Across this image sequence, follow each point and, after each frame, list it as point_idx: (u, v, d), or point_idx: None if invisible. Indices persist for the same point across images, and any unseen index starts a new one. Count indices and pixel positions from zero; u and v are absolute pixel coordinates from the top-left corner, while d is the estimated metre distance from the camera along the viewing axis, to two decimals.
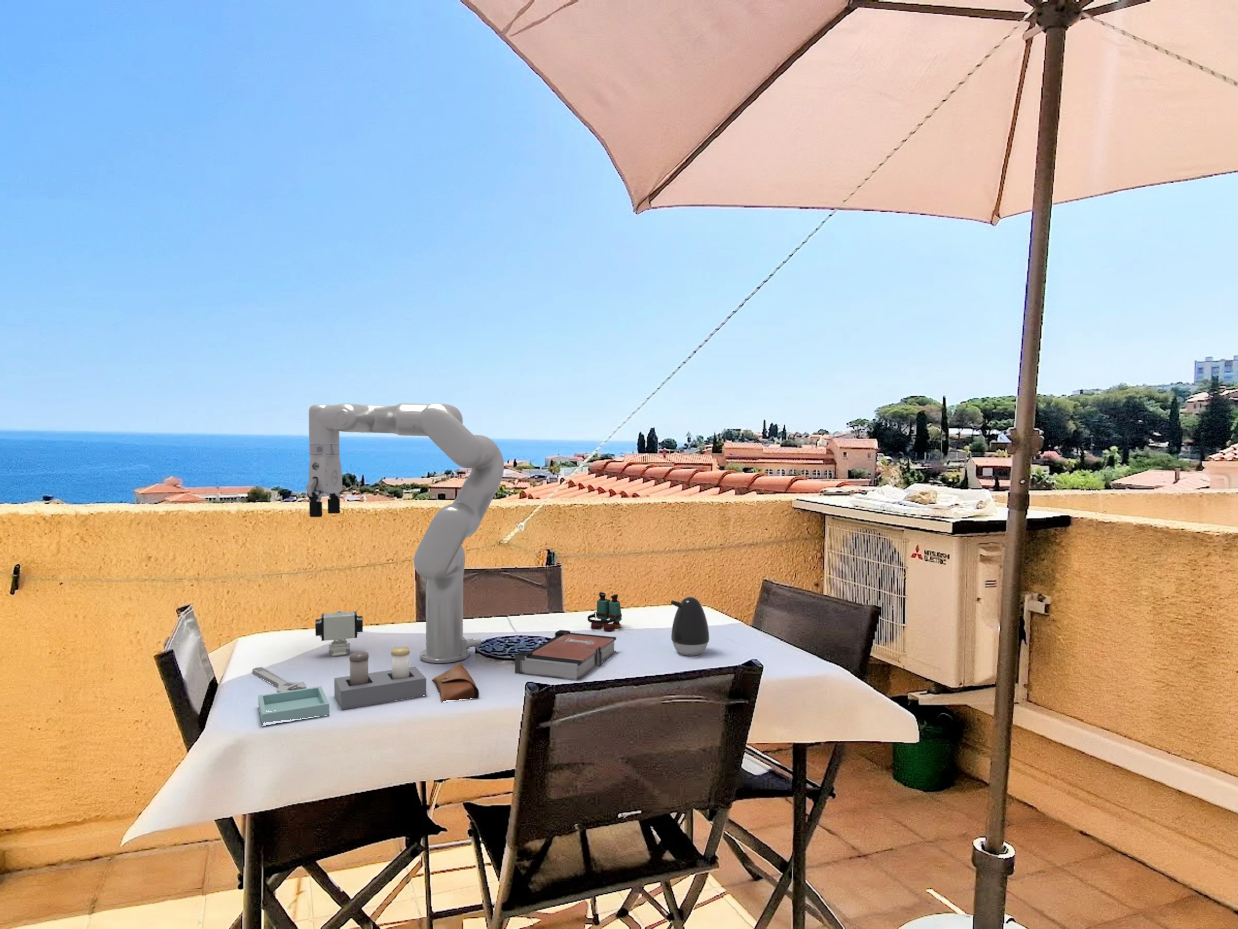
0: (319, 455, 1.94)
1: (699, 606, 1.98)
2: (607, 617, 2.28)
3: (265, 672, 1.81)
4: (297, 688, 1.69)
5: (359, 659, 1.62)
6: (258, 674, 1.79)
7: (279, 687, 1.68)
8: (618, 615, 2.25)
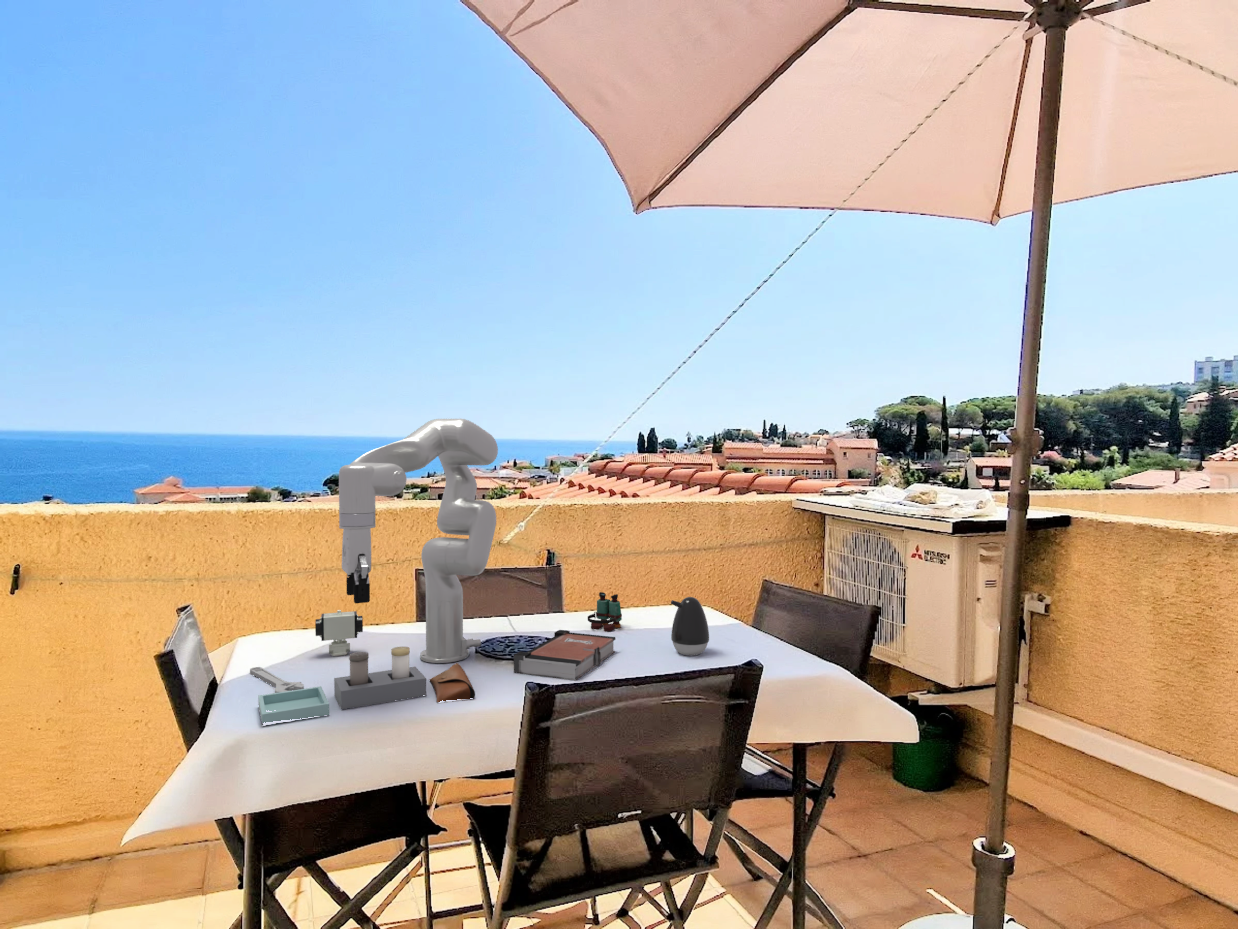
0: None
1: (699, 606, 1.98)
2: (607, 617, 2.28)
3: (263, 672, 1.81)
4: (295, 688, 1.69)
5: (359, 659, 1.62)
6: (256, 674, 1.79)
7: (277, 687, 1.68)
8: (618, 615, 2.25)
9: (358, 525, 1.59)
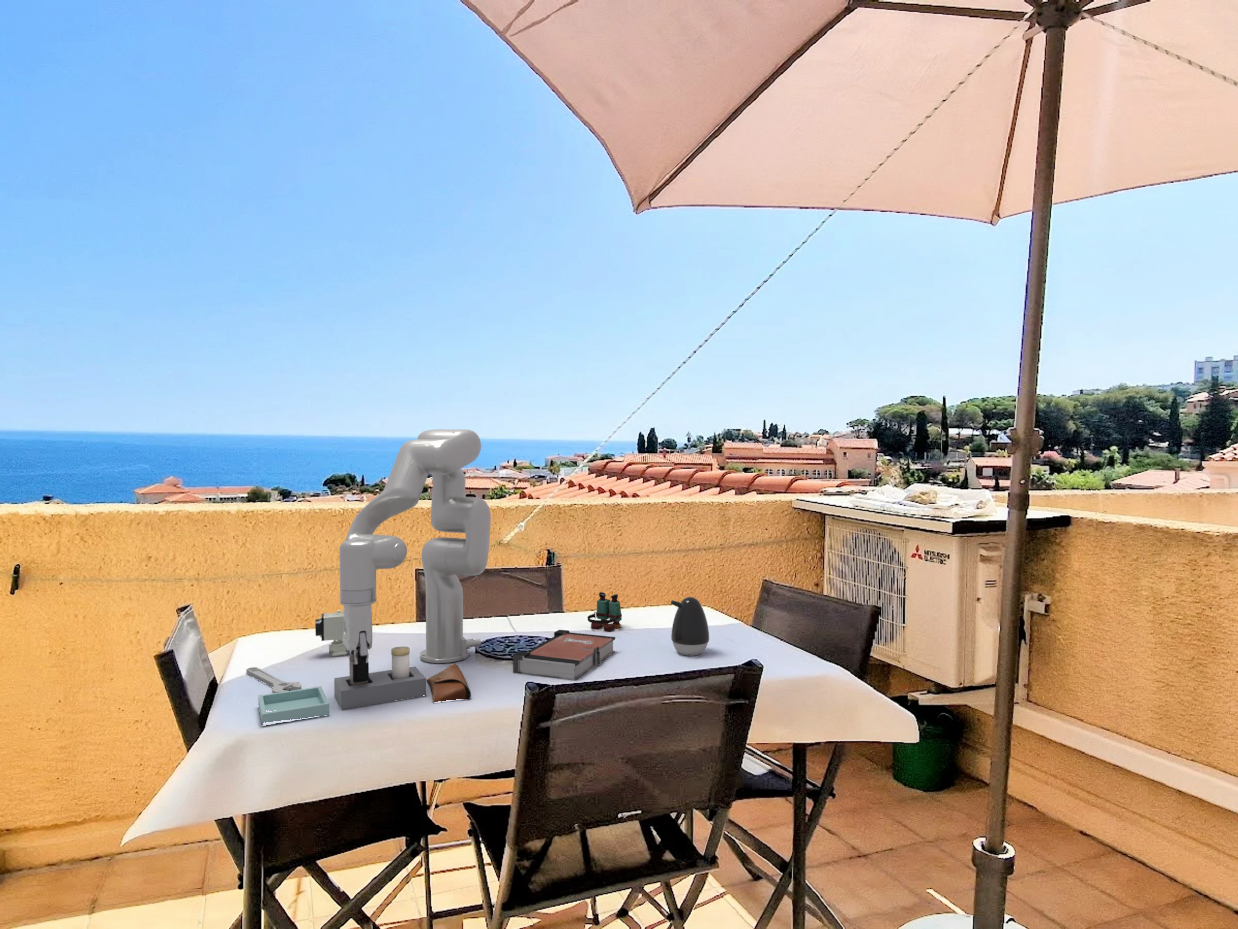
0: None
1: (699, 606, 1.98)
2: (607, 617, 2.28)
3: (259, 672, 1.81)
4: (292, 688, 1.69)
5: None
6: (252, 674, 1.79)
7: (274, 687, 1.68)
8: (618, 615, 2.25)
9: (359, 602, 1.60)
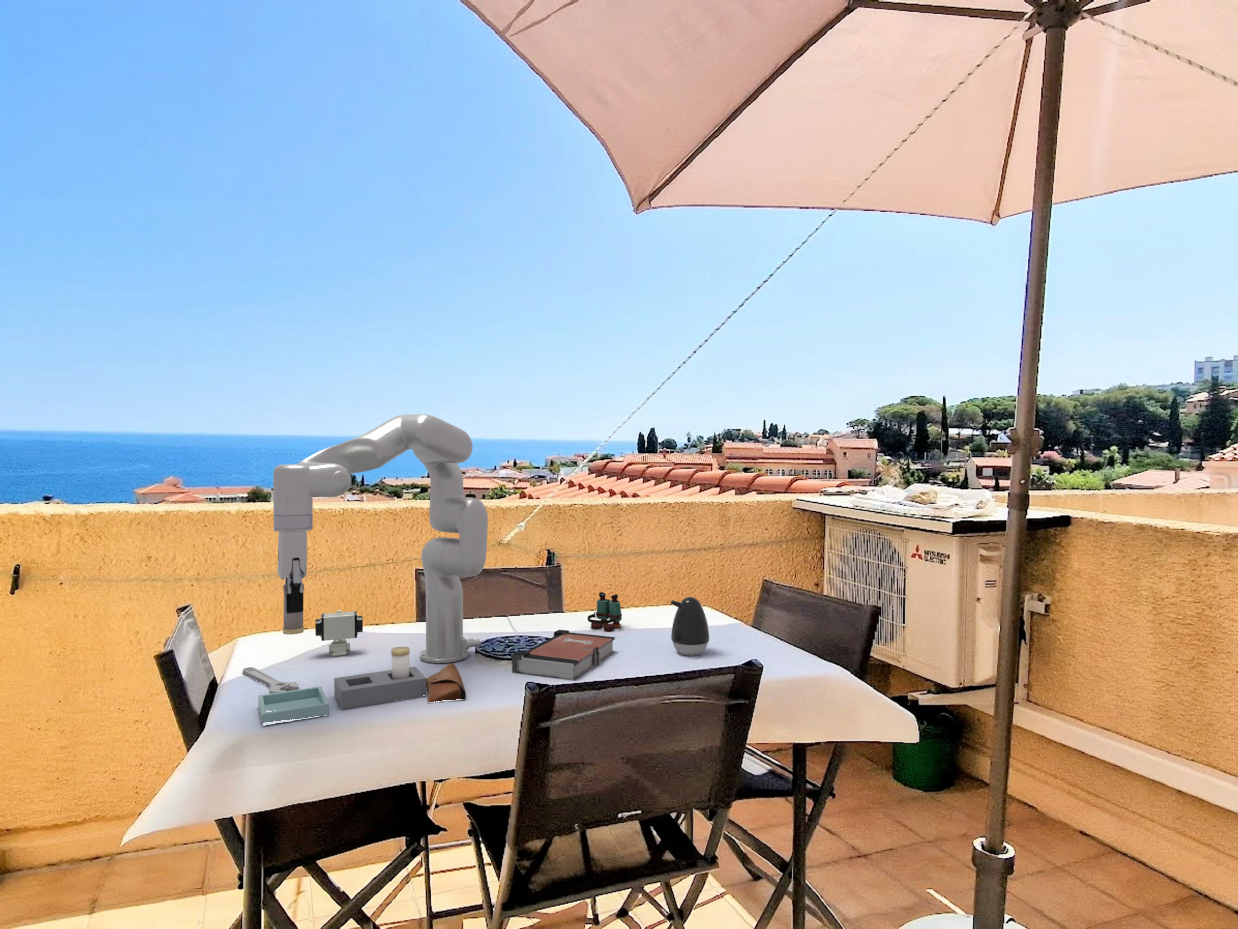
0: None
1: (699, 606, 1.98)
2: (607, 617, 2.28)
3: (256, 672, 1.80)
4: (289, 688, 1.69)
5: None
6: (249, 674, 1.79)
7: (271, 687, 1.68)
8: (618, 615, 2.25)
9: (293, 528, 1.52)
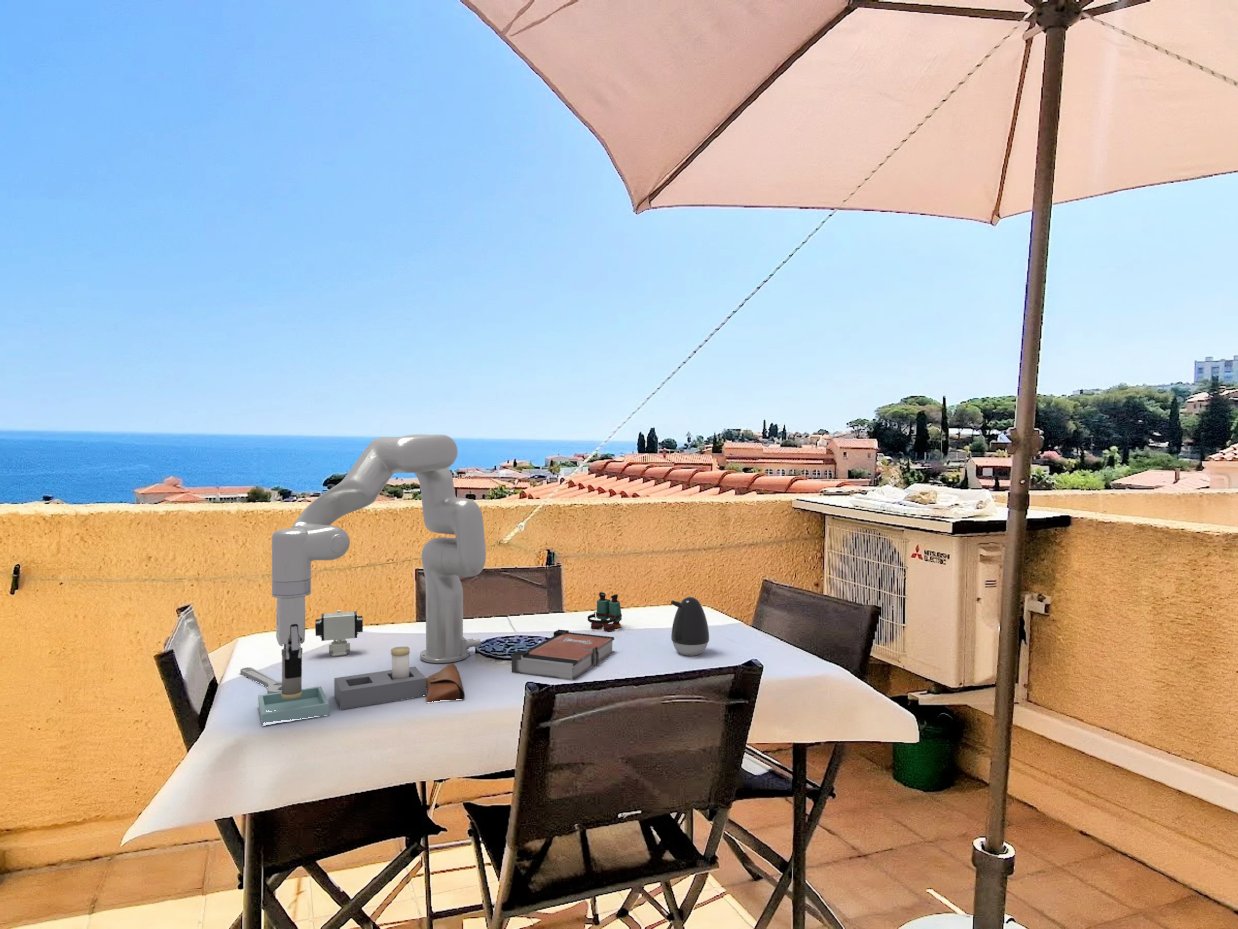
0: None
1: (699, 606, 1.98)
2: (607, 617, 2.28)
3: (253, 672, 1.80)
4: None
5: None
6: (246, 674, 1.79)
7: (269, 687, 1.68)
8: (618, 615, 2.25)
9: (291, 594, 1.52)
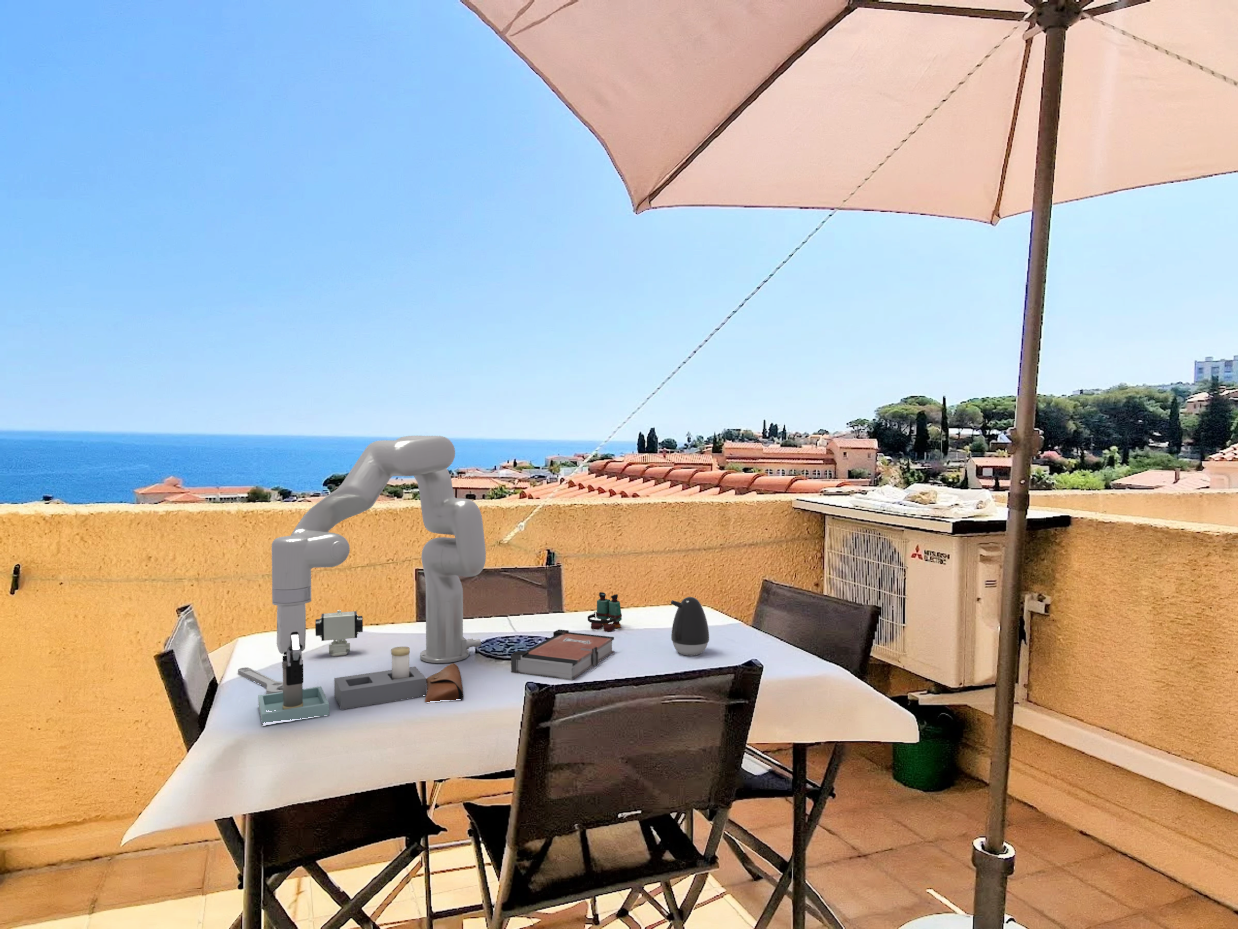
0: None
1: (699, 606, 1.98)
2: (607, 617, 2.28)
3: (251, 672, 1.80)
4: None
5: None
6: (244, 674, 1.79)
7: (268, 687, 1.69)
8: (618, 615, 2.25)
9: (291, 601, 1.52)
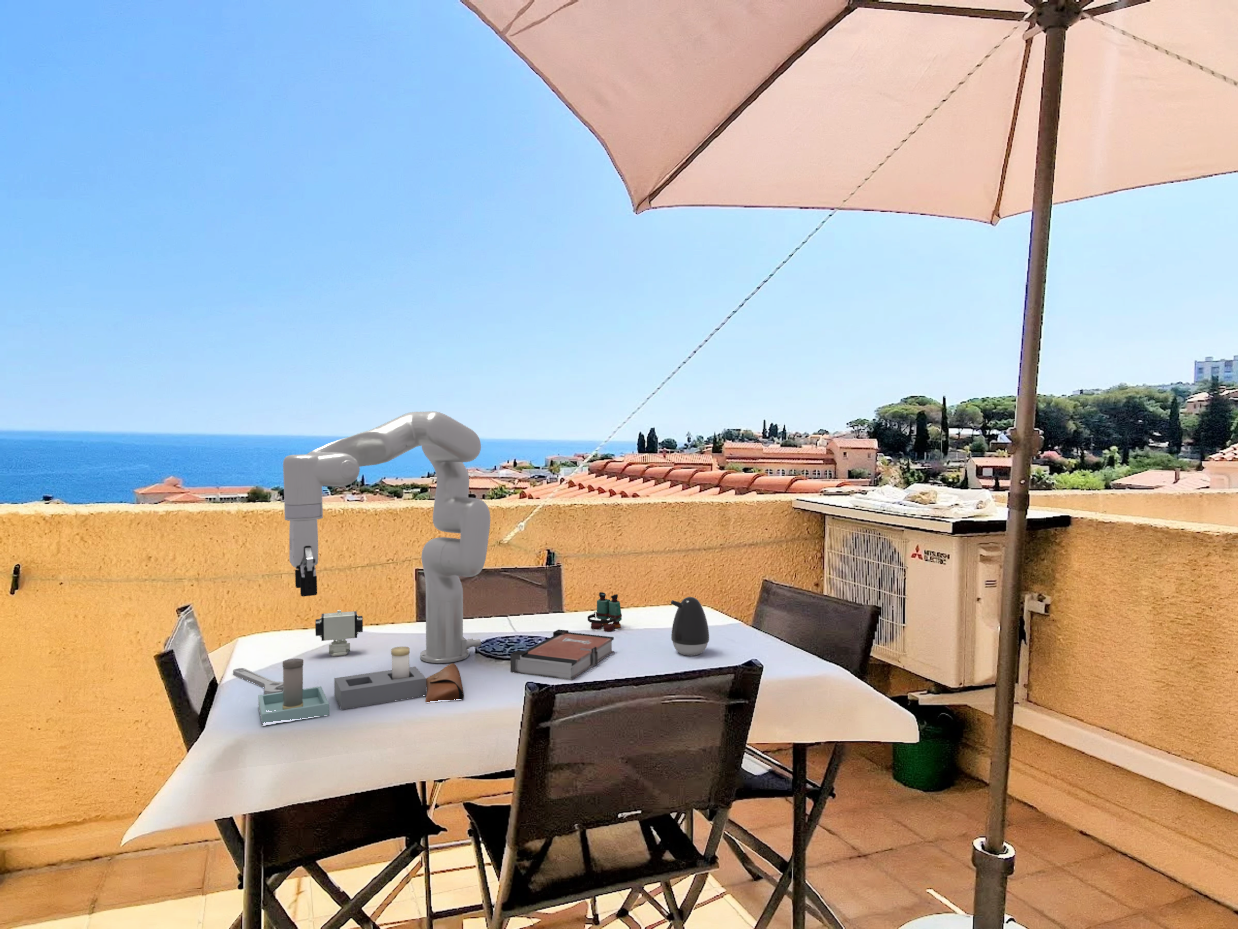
0: None
1: (699, 606, 1.98)
2: (607, 617, 2.28)
3: (247, 673, 1.80)
4: None
5: (292, 666, 1.55)
6: (240, 675, 1.79)
7: (266, 687, 1.69)
8: (618, 615, 2.25)
9: (303, 516, 1.55)
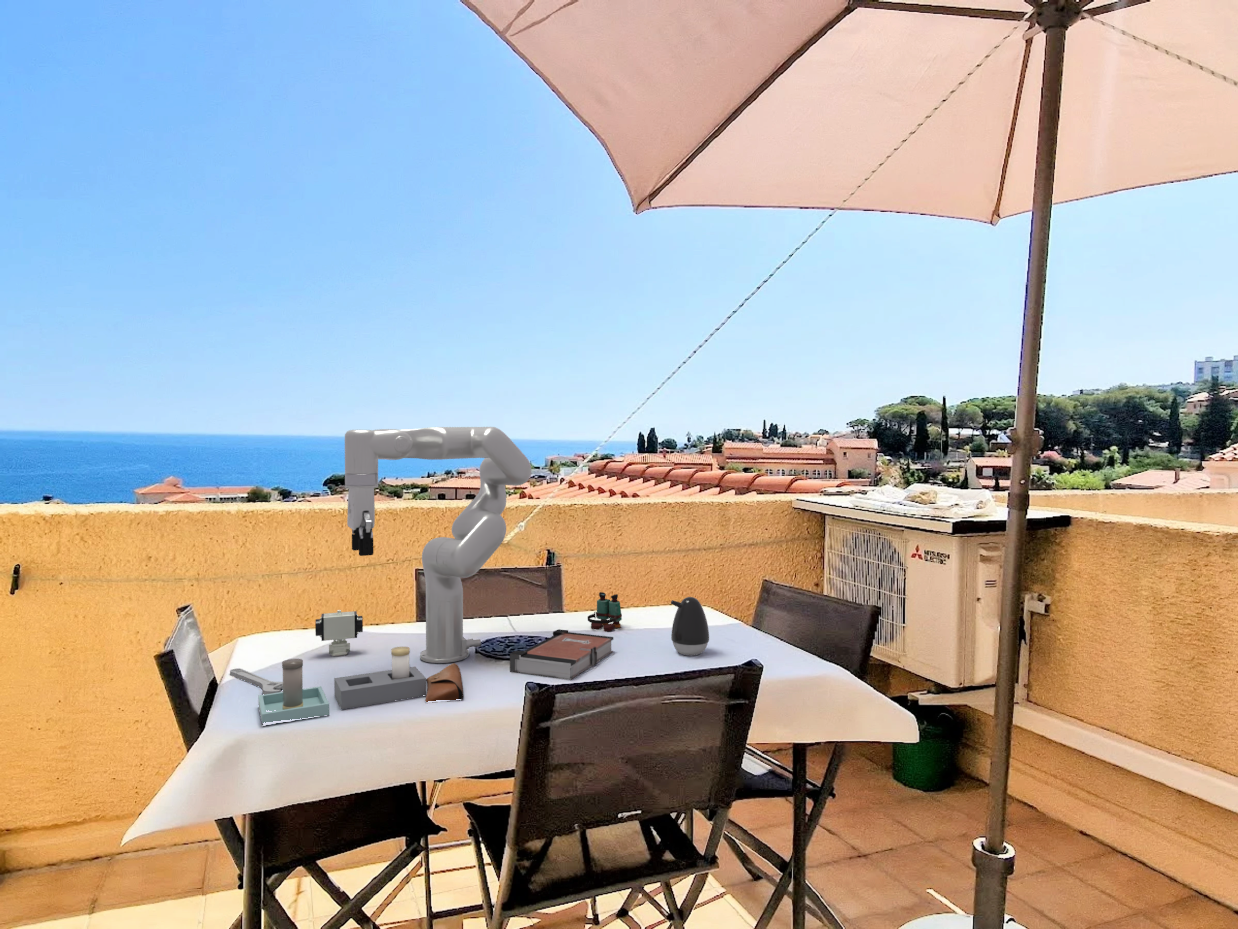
0: None
1: (699, 606, 1.98)
2: (607, 617, 2.28)
3: (244, 673, 1.80)
4: (282, 687, 1.70)
5: (292, 667, 1.54)
6: (237, 675, 1.79)
7: (264, 687, 1.69)
8: (618, 615, 2.25)
9: (362, 484, 1.74)
